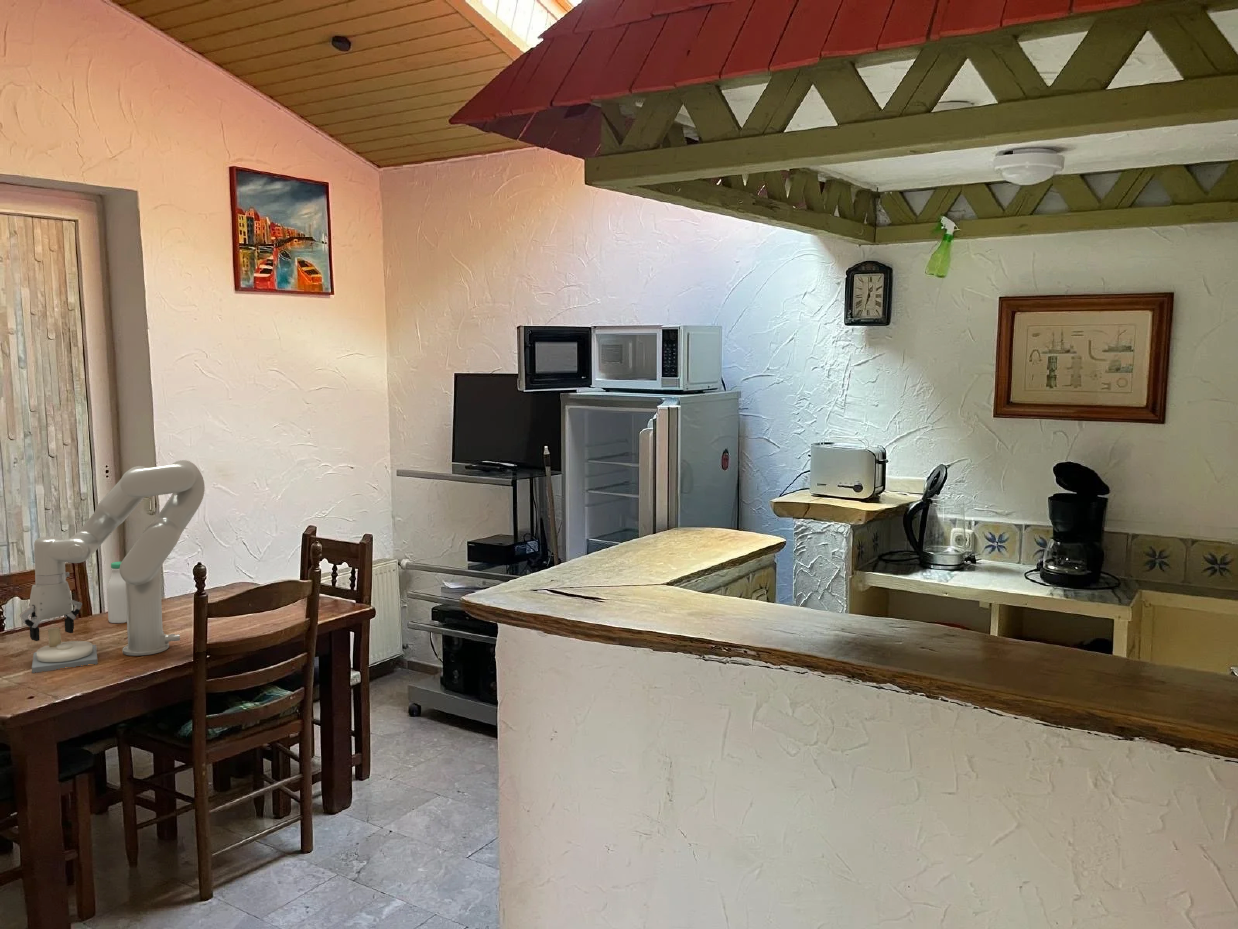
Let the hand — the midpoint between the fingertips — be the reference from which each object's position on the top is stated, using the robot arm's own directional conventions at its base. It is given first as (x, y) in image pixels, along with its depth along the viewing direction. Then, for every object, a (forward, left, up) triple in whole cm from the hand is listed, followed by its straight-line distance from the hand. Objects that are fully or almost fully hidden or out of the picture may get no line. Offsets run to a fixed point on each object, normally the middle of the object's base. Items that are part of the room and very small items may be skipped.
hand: (52, 636), depth 270 cm
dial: (-3, +4, -5) cm, 7 cm away
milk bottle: (-19, -36, -7) cm, 41 cm away
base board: (-3, +4, -7) cm, 8 cm away
